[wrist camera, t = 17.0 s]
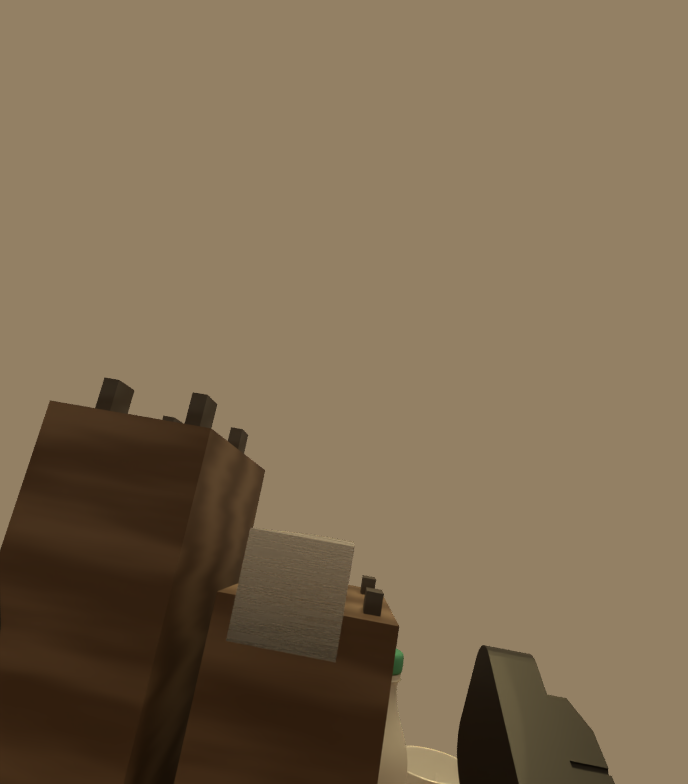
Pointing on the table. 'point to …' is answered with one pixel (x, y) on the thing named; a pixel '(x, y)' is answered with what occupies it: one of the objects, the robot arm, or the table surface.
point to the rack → (164, 619)
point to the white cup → (430, 766)
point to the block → (292, 593)
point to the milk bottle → (393, 736)
